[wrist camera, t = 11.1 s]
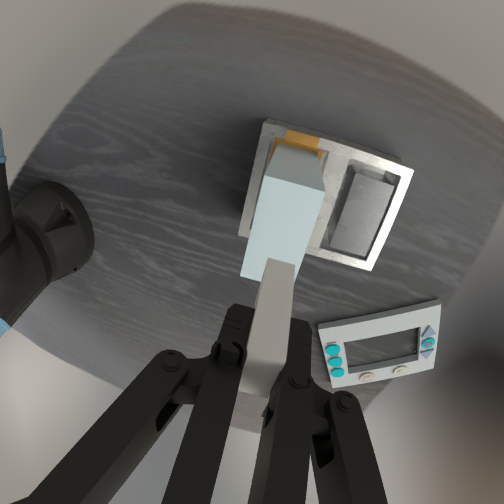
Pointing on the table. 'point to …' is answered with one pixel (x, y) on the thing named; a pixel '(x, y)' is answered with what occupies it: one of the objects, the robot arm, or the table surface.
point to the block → (285, 210)
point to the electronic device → (377, 325)
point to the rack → (338, 192)
